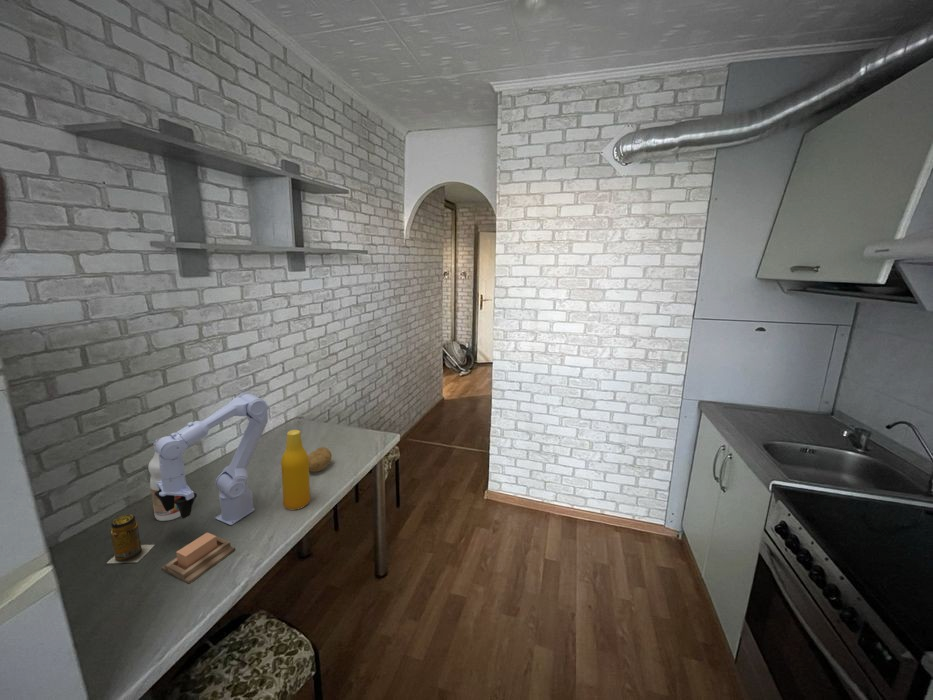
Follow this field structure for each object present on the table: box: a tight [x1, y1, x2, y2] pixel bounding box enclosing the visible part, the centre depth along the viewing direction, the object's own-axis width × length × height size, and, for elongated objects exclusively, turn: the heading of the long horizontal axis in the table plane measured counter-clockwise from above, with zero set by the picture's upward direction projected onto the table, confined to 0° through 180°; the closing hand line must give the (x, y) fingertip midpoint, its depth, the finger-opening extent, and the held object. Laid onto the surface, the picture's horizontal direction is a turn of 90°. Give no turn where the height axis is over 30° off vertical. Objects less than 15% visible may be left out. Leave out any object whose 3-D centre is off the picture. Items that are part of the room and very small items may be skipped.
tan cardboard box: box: [175, 531, 217, 570], centre depth 113 cm, size 9×4×5 cm, turn 159°
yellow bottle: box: [280, 429, 311, 510], centre depth 139 cm, size 9×9×29 cm
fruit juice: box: [147, 437, 181, 522], centre depth 130 cm, size 9×9×28 cm
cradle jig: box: [160, 533, 236, 585], centre depth 114 cm, size 14×12×2 cm
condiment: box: [106, 514, 155, 564], centre depth 113 cm, size 7×8×12 cm
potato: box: [307, 446, 333, 473], centre depth 165 cm, size 10×14×8 cm
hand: (178, 512), depth 119 cm, fingers open, 7 cm apart
